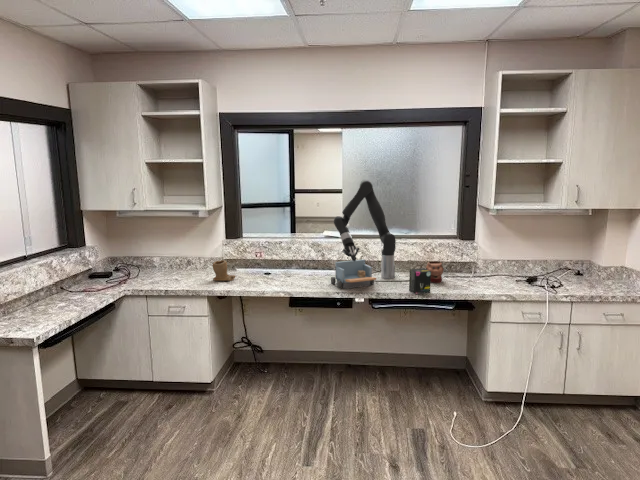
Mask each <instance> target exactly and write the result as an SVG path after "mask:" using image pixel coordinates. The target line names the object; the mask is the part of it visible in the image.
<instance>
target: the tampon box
mask: <svg viewBox="0 0 640 480" xmlns="http://www.w3.org/2000/svg"><path fill="white" fill-rule="evenodd" d="M408 280H409V281H408V282H409V283H408V284H409V286H408V287H409V288H408V289H409V291H410V292H411V293H413V294H415V295H422V294H430V293H431V285H432V282H431V271H429V270H427V269H426V268H423V267H422V268H410V269H409V279H408Z"/></svg>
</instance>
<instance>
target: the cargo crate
mask: <svg viewBox="0 0 640 480" xmlns="http://www.w3.org/2000/svg"><path fill="white" fill-rule="evenodd" d="M358 277H360V278H362V277H365V271H363V270H360V271H358Z"/></svg>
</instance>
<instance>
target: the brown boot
mask: <svg viewBox="0 0 640 480" xmlns="http://www.w3.org/2000/svg"><path fill="white" fill-rule="evenodd" d="M211 266H212V269H213V272H214V274H215V277H213V278H212V280H213V281H218V282H219V281H220V282H221V281H222V282H225V281H226V282H227V281H230V282H232V281H234V280H235V279H236V275H235V274H234V275H230V274H228V263H227V261H226V260H225V259H220V260H216V261H214V262H213V263H212V265H211Z"/></svg>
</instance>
